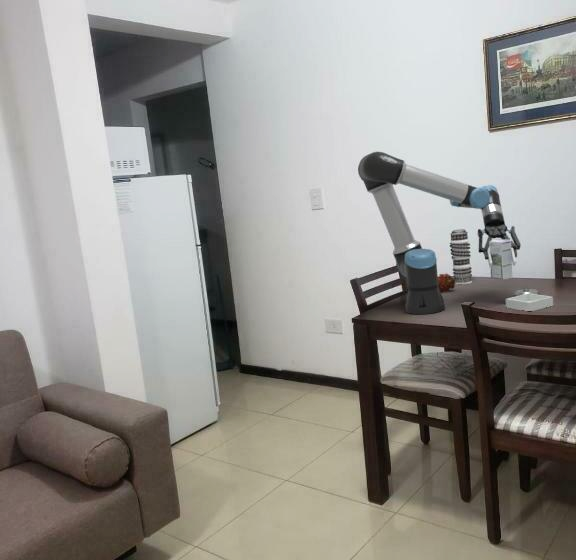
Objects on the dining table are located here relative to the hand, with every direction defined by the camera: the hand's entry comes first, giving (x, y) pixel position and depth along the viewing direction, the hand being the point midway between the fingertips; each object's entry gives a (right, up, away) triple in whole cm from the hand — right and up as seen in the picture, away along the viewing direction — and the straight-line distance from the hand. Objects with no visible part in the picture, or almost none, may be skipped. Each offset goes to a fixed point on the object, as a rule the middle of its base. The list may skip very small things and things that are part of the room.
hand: (502, 264), depth 207 cm
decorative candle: (+3, -7, +55) cm, 56 cm away
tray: (+8, -15, -5) cm, 18 cm away
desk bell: (+13, -12, +10) cm, 21 cm away
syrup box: (+1, -5, +4) cm, 7 cm away
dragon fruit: (-10, -11, +42) cm, 45 cm away
